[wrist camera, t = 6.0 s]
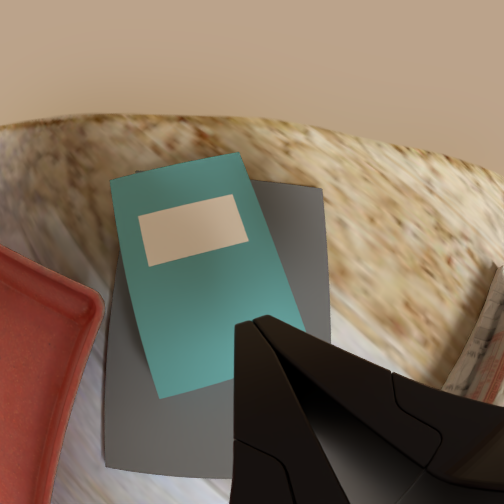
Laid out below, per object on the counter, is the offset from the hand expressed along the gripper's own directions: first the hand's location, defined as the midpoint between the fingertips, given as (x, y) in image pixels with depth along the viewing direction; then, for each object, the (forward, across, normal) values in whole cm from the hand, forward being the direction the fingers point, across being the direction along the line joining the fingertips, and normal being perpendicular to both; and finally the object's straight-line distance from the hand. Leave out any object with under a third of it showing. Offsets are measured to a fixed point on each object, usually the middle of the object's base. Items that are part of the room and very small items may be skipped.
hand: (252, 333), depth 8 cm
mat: (+7, 0, +5) cm, 8 cm away
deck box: (+4, 0, +6) cm, 7 cm away
